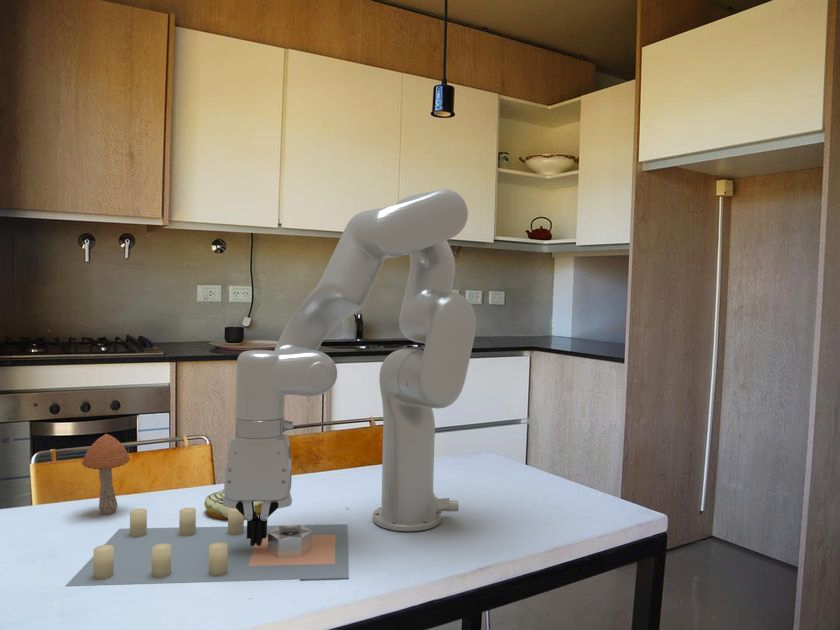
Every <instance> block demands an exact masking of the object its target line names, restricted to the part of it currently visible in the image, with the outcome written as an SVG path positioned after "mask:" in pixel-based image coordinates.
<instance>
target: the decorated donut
mask: <svg viewBox="0 0 840 630" xmlns="http://www.w3.org/2000/svg"><path fill="white" fill-rule="evenodd" d="M224 496H225V494H224V489H221V490H219V491H216V492H213V493H211V494H208V495H206V497H205V500H204V503H203V504H204V508H205V510H206V512H207V514H208V515H209V516H210V517H211V518H214V519H219V520H228V509H230V508H229V507H225V506H223V500H224ZM262 504H263V501H254V508H255V512H256V515H257V516H259V514H260V512H261V509H262ZM244 520H246V519H245V517H244Z"/></svg>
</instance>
